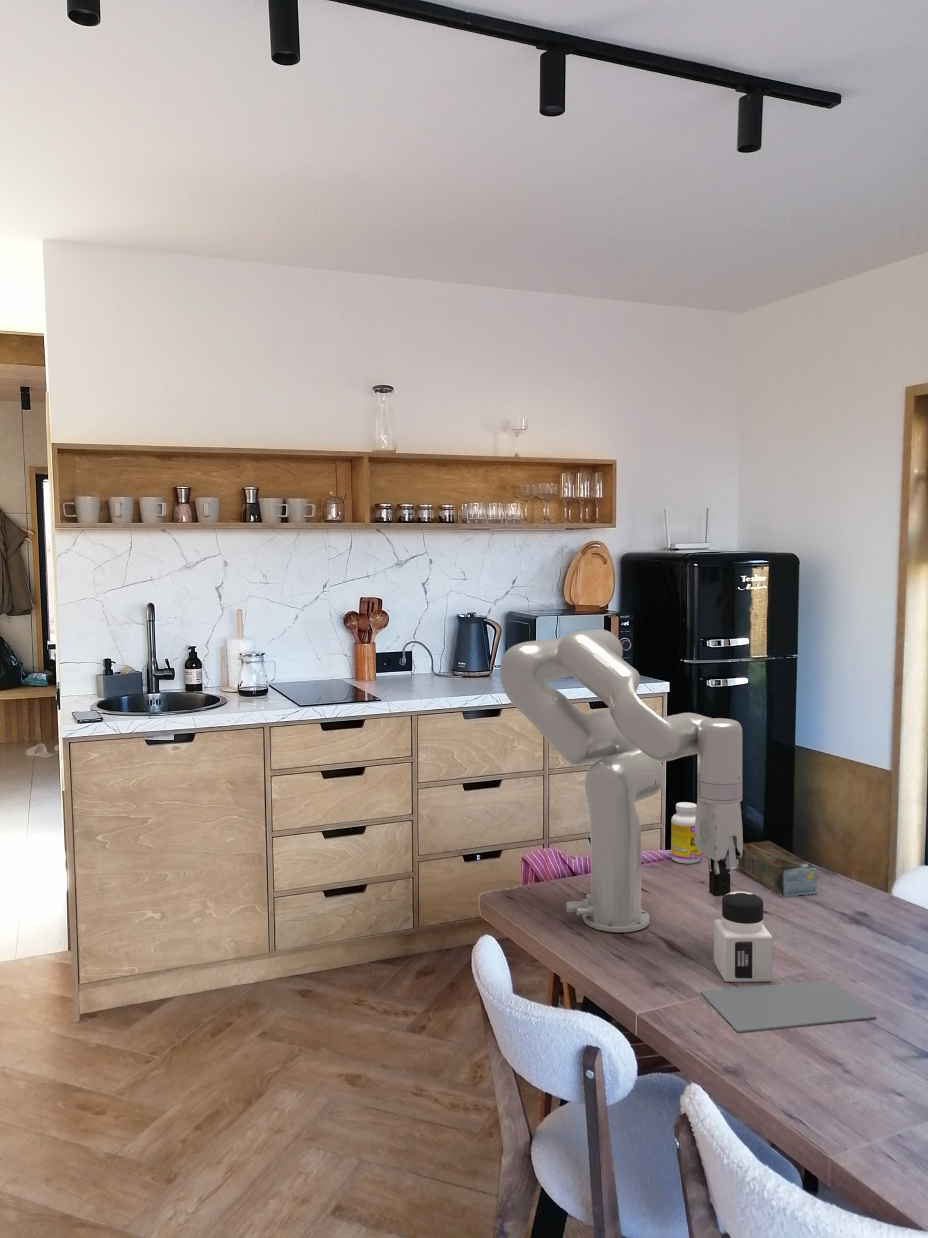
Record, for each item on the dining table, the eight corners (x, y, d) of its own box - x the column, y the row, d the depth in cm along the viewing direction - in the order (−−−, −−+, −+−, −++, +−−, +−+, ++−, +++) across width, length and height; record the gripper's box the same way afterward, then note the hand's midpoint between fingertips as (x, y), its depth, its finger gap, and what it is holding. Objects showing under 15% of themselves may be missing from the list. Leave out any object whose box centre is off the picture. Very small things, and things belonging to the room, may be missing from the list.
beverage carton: (782, 899, 194) (782, 867, 194) (736, 870, 213) (736, 841, 212) (817, 896, 196) (818, 864, 195) (768, 867, 214) (769, 838, 214)
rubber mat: (737, 1033, 139) (737, 1031, 139) (700, 993, 152) (700, 991, 152) (876, 1019, 143) (876, 1017, 143) (828, 981, 155) (828, 979, 155)
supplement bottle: (691, 866, 215) (691, 810, 214) (665, 860, 219) (665, 805, 218) (706, 859, 220) (706, 804, 219) (680, 854, 224) (680, 799, 223)
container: (772, 982, 155) (773, 903, 155) (724, 982, 156) (725, 904, 155) (759, 963, 163) (759, 887, 162) (713, 963, 163) (713, 887, 162)
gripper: (682, 782, 173) (682, 882, 174) (718, 802, 158) (718, 911, 159) (721, 780, 174) (721, 879, 175) (760, 799, 160) (760, 907, 161)
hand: (719, 894), depth 167 cm, fingers closed
